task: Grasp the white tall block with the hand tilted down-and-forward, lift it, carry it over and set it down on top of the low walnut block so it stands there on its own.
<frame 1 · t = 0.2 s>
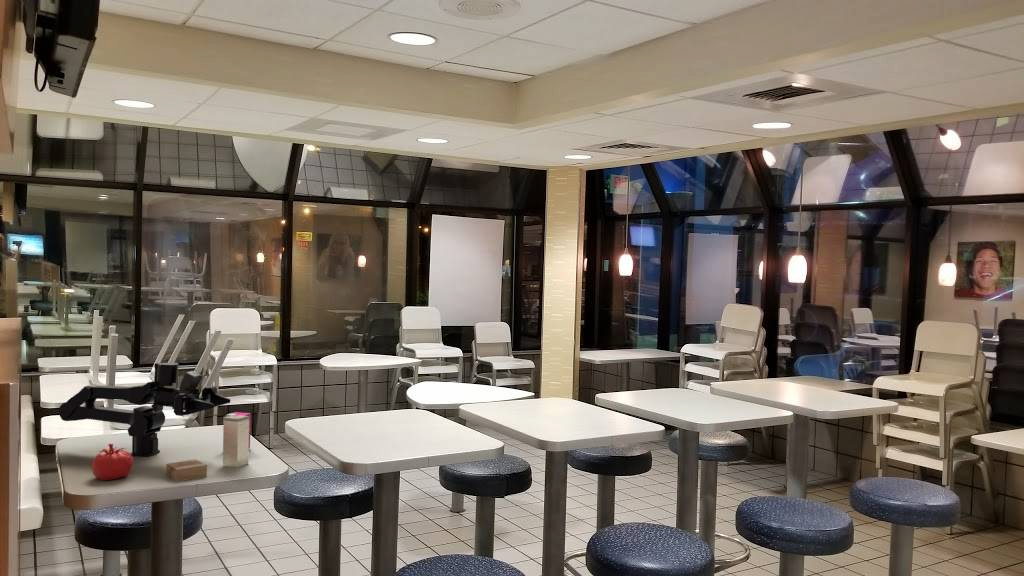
hand: (222, 403, 233), 17 cm above the table, tool horizontal, fingers open, 9 cm apart
supplement box: (237, 450, 246), on the table
white tall block: (235, 465, 226), on the table
red tomato: (112, 478, 210), on the table
walnut block: (186, 476, 214), on the table
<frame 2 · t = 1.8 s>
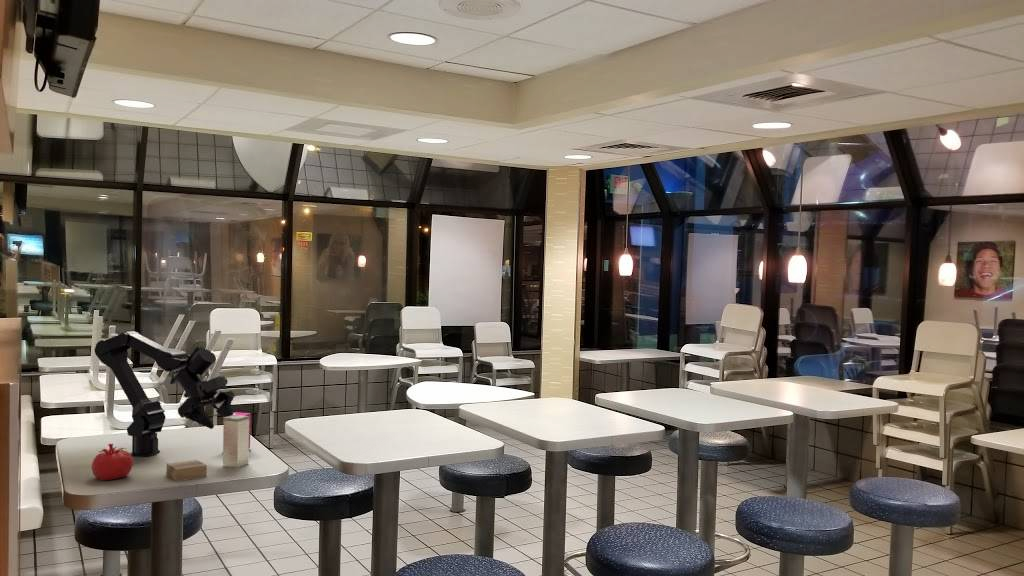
hand: (223, 425, 228), 11 cm above the table, tool tilted 45°, fingers open, 9 cm apart
nothing on the table moved.
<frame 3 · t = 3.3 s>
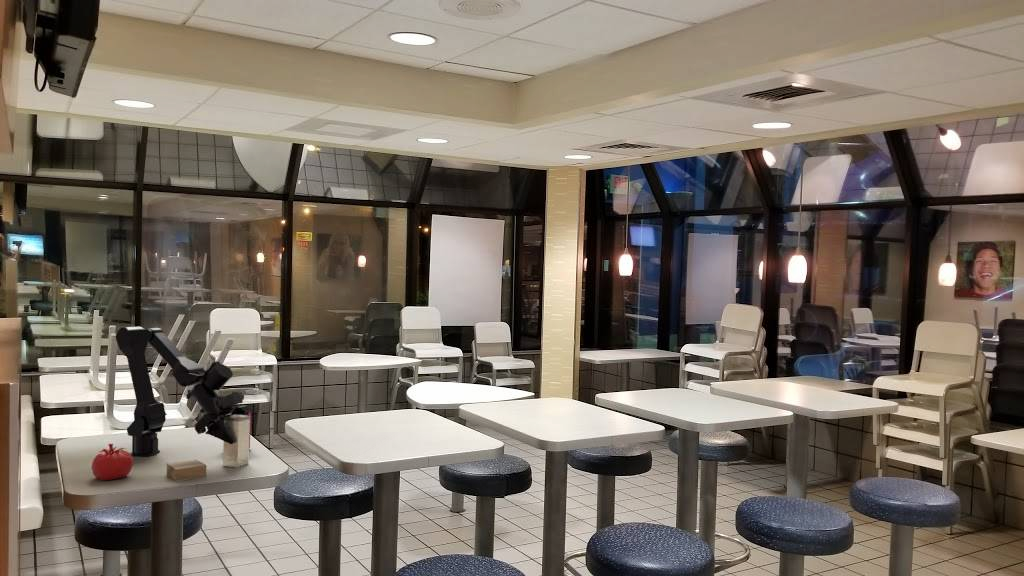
hand: (240, 441, 226), 7 cm above the table, tool tilted 45°, fingers open, 6 cm apart
nothing on the table moved.
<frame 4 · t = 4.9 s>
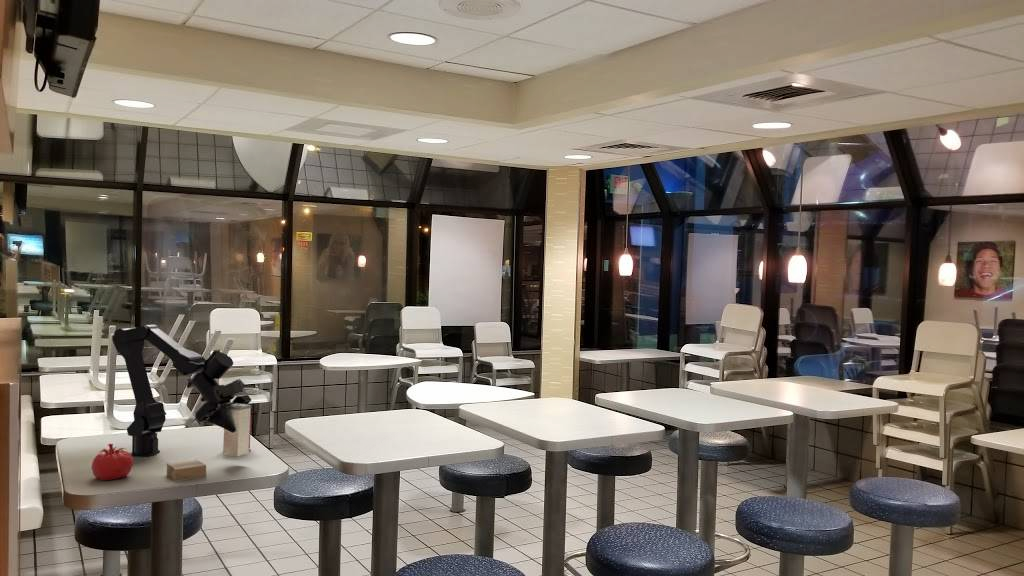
hand: (240, 429, 226), 10 cm above the table, tool tilted 45°, fingers closed on white tall block, 5 cm apart
white tall block: (235, 453, 226), point 3 cm above the table, touching gripper
everything else where it was.
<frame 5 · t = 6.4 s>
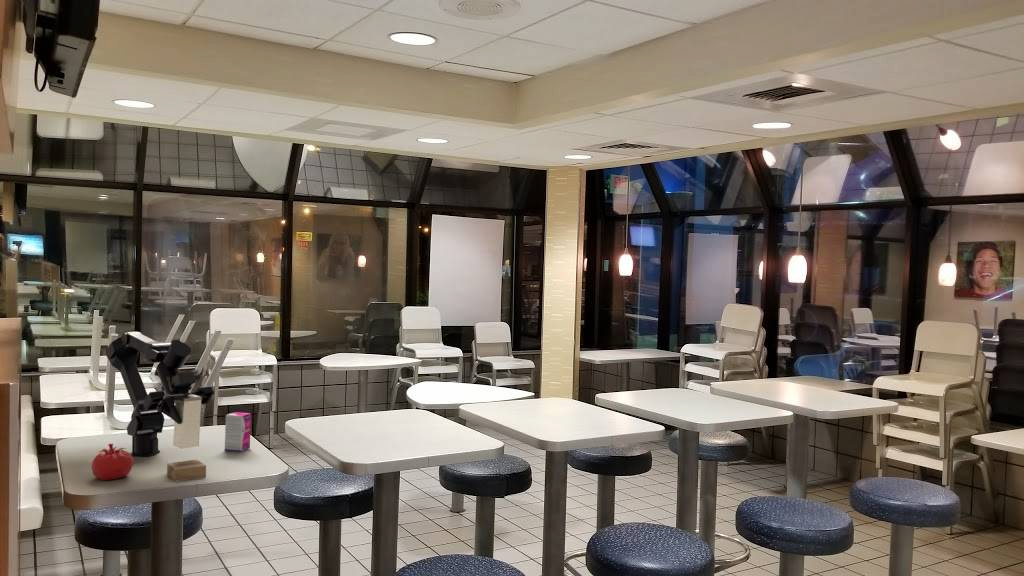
hand: (189, 421, 220), 14 cm above the table, tool tilted 45°, fingers closed on white tall block, 5 cm apart
white tall block: (186, 445, 221), point 7 cm above the table, touching gripper
everything else where it was.
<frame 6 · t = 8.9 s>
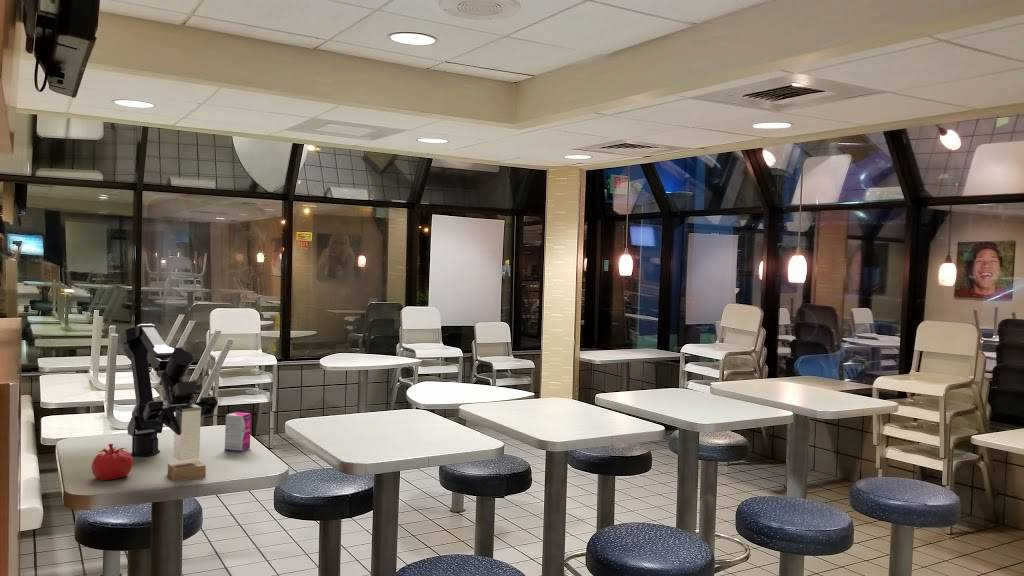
hand: (188, 433, 212), 12 cm above the table, tool tilted 45°, fingers closed on white tall block, 5 cm apart
white tall block: (186, 457, 214), point 5 cm above the table, touching gripper
everything else where it was.
when the fingers open (12 cm above the table, at t = 9.1 s): white tall block drops 2 cm, point 3 cm above the table.
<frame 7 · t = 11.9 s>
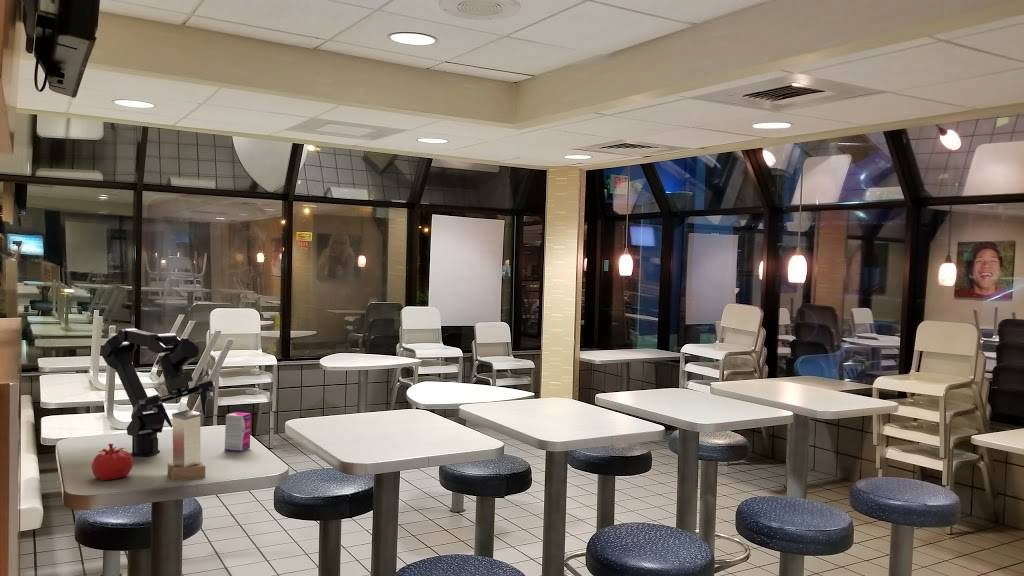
hand: (188, 422, 225), 12 cm above the table, tool tilted 30°, fingers open, 9 cm apart
white tall block: (186, 463, 213), point 3 cm above the table, tilted 7°
everything else where it was.
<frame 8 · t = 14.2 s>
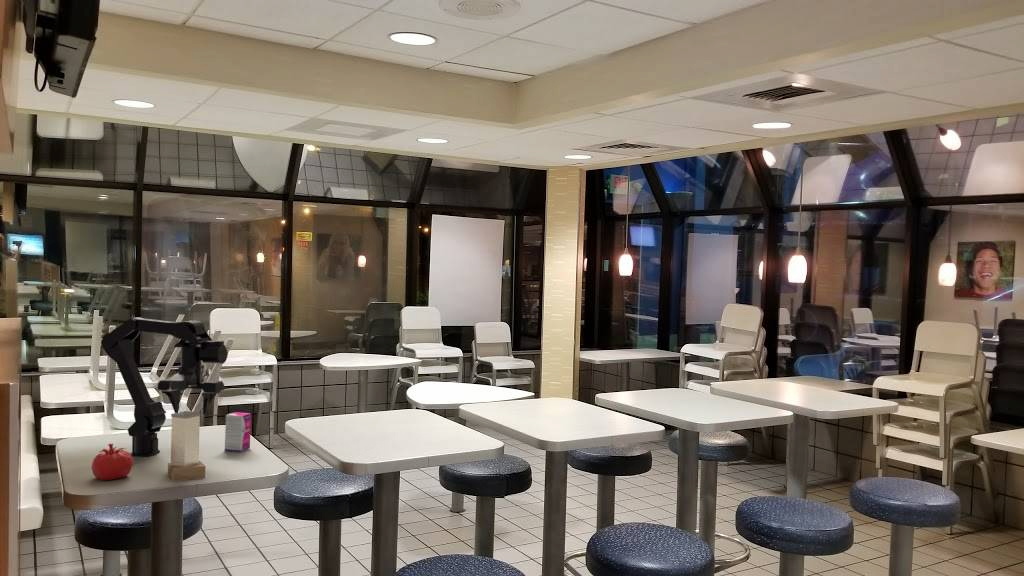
hand: (190, 413, 235), 13 cm above the table, tool pointing down, fingers open, 9 cm apart
white tall block: (184, 464, 213), point 3 cm above the table, touching walnut block
walnut block: (186, 477, 214), on the table, touching white tall block
everything else where it was.
at the end: white tall block inside the target area on the walnut block (0.5 cm from its centre), point 3.5 cm above the walnut block's base; white tall block tilted 1°; the gripper is holding nothing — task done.
